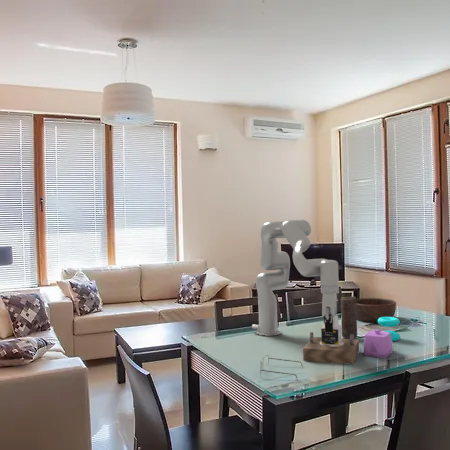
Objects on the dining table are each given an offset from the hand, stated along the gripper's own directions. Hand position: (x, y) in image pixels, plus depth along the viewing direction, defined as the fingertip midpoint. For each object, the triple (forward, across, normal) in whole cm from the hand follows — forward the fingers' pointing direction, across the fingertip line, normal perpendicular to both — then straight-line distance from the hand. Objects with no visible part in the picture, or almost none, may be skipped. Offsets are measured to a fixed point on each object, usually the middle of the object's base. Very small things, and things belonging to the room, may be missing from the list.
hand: (331, 329), depth 199 cm
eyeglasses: (+12, +27, -15) cm, 33 cm away
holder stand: (+11, 0, 0) cm, 11 cm away
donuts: (+11, -35, +21) cm, 42 cm away
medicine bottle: (+6, 0, 0) cm, 6 cm away
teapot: (+11, -8, +18) cm, 23 cm away
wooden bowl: (+12, -81, +10) cm, 82 cm away
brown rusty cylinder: (+11, -32, +3) cm, 34 cm away
